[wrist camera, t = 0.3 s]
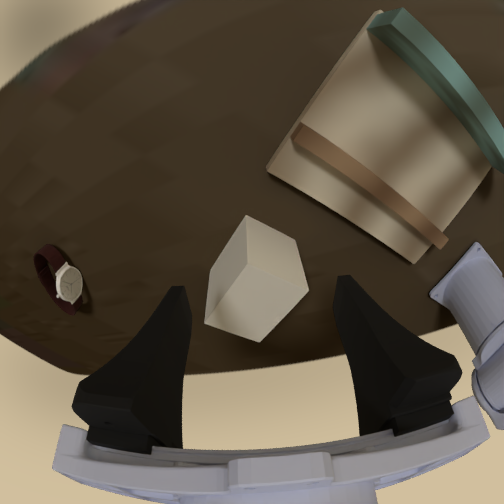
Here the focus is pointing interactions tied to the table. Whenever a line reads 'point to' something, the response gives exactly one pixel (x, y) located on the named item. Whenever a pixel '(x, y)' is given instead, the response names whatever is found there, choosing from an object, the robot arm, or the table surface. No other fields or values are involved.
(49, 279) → the watch
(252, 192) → the table surface
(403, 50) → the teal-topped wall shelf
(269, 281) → the beige rectangular block
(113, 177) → the table surface
